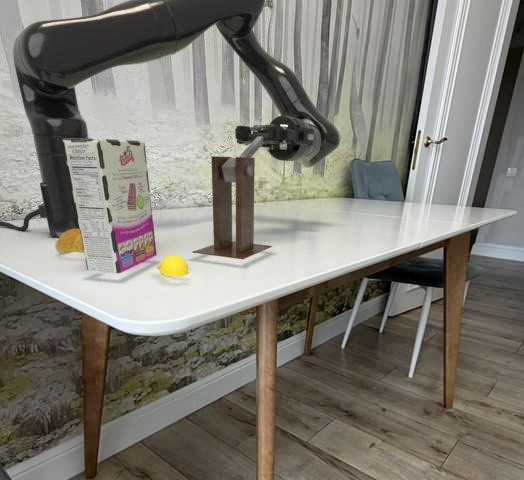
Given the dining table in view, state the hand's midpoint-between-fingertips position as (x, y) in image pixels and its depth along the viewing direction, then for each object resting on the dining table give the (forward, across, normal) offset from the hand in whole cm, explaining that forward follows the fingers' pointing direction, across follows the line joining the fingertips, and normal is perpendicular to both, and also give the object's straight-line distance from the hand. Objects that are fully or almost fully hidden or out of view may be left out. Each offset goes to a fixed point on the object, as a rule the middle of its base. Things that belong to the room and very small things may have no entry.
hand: (254, 133), depth 63 cm
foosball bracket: (+7, 0, +18) cm, 20 cm away
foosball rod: (+2, 0, +4) cm, 5 cm away
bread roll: (+18, -21, +19) cm, 33 cm away
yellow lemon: (+23, -1, +19) cm, 30 cm away
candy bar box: (+22, -10, +19) cm, 31 cm away
